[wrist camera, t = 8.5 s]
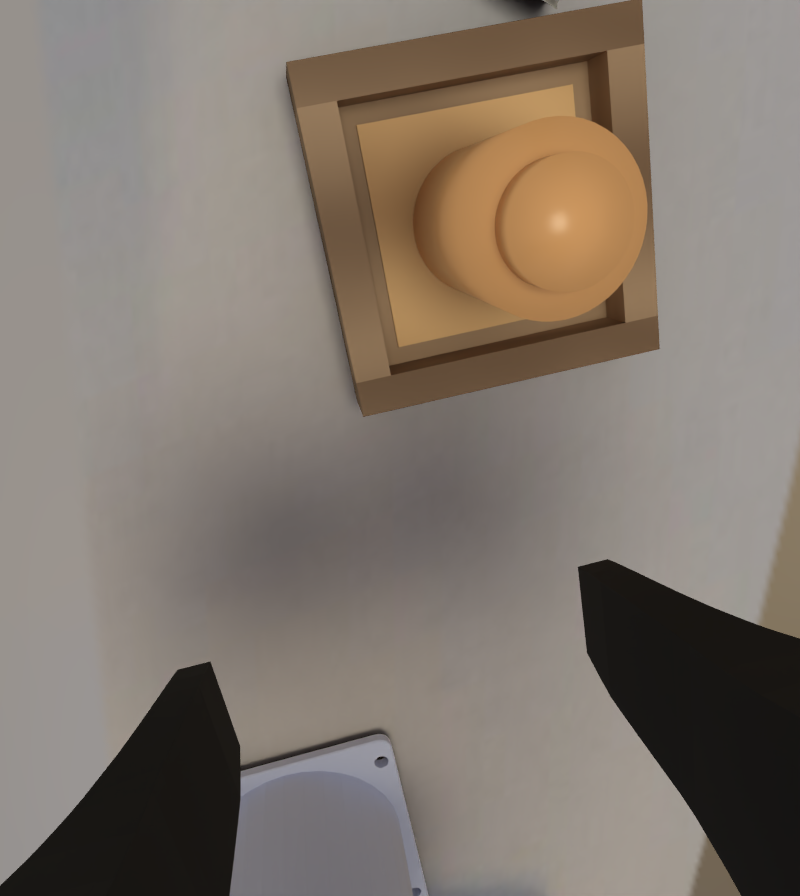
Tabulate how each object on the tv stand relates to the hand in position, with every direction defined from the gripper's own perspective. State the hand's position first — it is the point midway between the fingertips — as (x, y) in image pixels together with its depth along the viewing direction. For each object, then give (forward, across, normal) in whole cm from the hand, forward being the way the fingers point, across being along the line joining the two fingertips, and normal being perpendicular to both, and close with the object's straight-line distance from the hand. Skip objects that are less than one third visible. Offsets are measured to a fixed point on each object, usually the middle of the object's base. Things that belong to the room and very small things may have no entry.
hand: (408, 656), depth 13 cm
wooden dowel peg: (+9, -5, -7) cm, 12 cm away
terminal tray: (+9, -5, -7) cm, 13 cm away
